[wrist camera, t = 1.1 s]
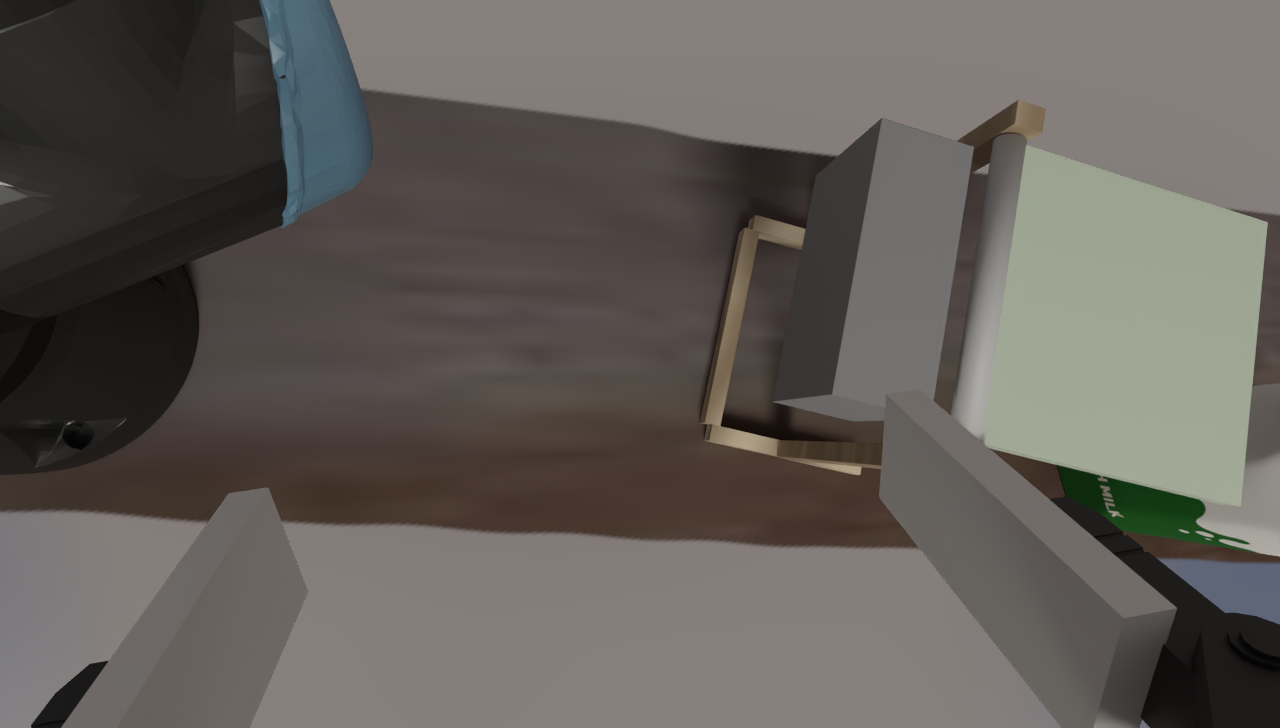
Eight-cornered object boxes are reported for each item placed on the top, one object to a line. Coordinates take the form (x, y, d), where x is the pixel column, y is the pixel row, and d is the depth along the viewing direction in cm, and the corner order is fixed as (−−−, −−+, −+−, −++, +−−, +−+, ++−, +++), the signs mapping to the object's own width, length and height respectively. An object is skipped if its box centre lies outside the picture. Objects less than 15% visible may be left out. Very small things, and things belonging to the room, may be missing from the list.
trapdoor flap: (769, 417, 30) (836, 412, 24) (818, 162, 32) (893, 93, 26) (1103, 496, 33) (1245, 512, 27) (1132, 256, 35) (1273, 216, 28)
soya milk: (1170, 504, 48) (1626, 554, 28) (1063, 540, 46) (1470, 621, 26) (1134, 383, 48) (1558, 349, 28) (1027, 415, 46) (1400, 402, 27)
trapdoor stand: (696, 438, 42) (835, 443, 23) (741, 218, 44) (904, 61, 25) (850, 474, 44) (1096, 504, 25) (888, 259, 46) (1142, 140, 27)
